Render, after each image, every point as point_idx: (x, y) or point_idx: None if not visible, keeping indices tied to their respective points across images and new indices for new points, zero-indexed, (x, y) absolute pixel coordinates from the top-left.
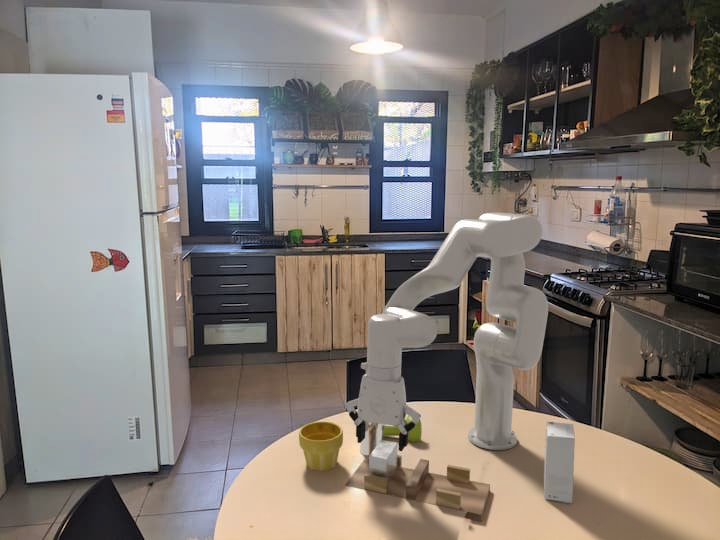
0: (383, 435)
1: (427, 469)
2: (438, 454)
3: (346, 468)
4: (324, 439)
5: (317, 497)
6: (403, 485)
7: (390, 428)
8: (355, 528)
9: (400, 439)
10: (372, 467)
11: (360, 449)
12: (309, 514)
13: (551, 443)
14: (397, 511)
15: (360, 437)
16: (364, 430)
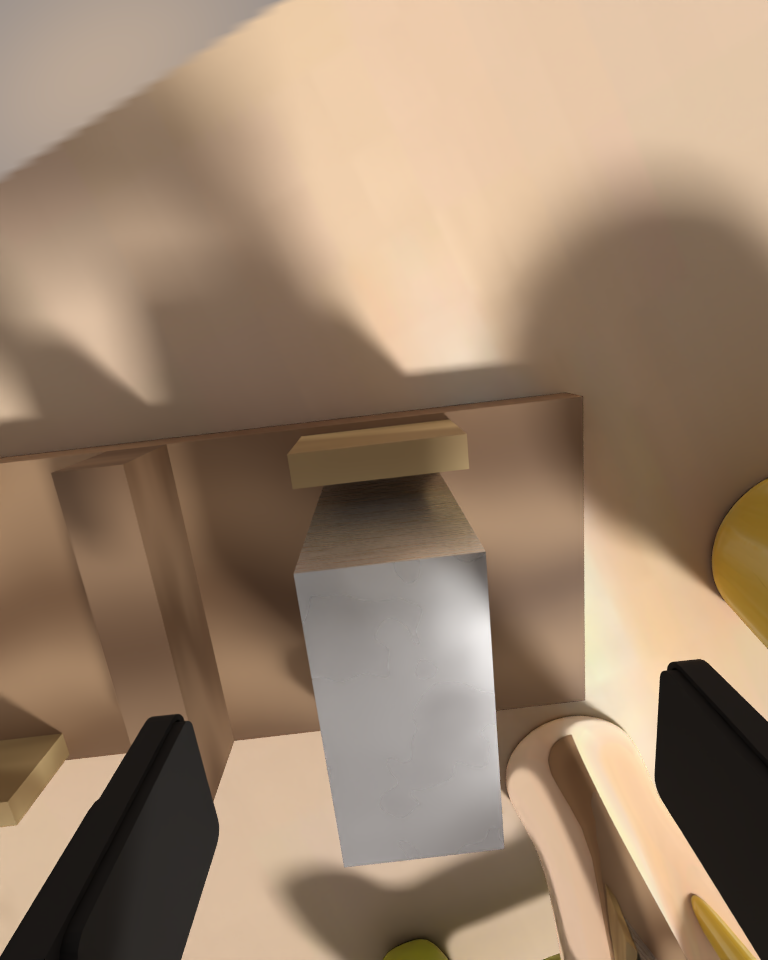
0: None
1: None
2: (257, 921)
3: (651, 609)
4: None
5: (698, 250)
6: (245, 563)
7: None
8: (329, 44)
9: (83, 856)
10: (432, 515)
11: (646, 775)
12: (673, 38)
13: None
14: (190, 352)
15: (708, 714)
16: (722, 867)
